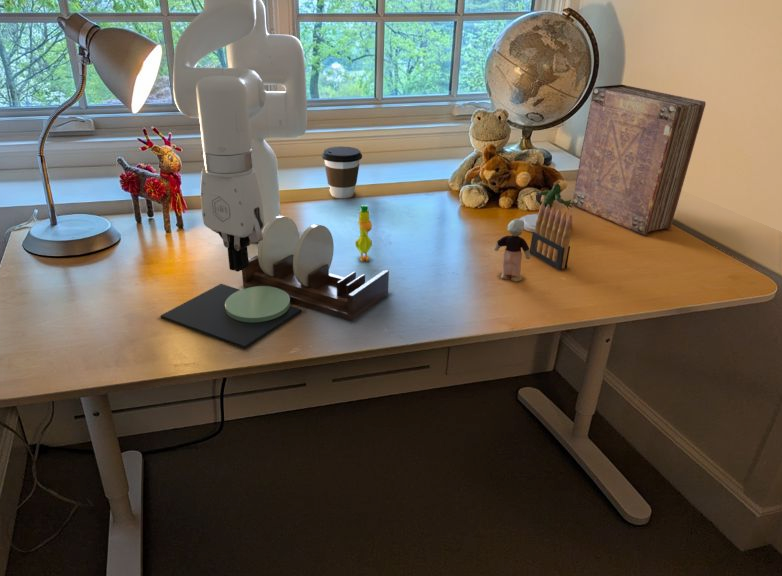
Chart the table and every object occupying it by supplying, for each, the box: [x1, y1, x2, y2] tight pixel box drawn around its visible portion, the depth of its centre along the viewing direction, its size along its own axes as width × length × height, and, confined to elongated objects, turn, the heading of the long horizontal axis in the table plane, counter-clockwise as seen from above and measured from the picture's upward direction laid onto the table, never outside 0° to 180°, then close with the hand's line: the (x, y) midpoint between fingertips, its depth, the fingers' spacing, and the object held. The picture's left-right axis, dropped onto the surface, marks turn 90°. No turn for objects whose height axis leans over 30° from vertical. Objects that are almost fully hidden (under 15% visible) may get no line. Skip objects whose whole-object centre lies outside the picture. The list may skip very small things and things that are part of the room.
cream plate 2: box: [293, 224, 335, 287], centre depth 123 cm, size 1×12×12 cm, turn 149°
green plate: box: [225, 286, 291, 322], centre depth 119 cm, size 1×12×12 cm
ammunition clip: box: [529, 201, 573, 271], centre depth 138 cm, size 11×2×12 cm, turn 26°
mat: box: [160, 283, 303, 350], centre depth 118 cm, size 20×16×1 cm
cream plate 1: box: [257, 215, 300, 277], centre depth 127 cm, size 1×12×12 cm, turn 149°
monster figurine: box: [519, 182, 573, 233], centre depth 157 cm, size 12×12×10 cm
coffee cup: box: [321, 146, 363, 199], centre depth 175 cm, size 11×11×12 cm
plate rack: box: [241, 254, 390, 323], centre depth 126 cm, size 26×13×5 cm, turn 58°
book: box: [571, 84, 707, 237], centre depth 158 cm, size 25×9×30 cm, turn 28°
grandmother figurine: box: [493, 218, 532, 283], centre depth 130 cm, size 8×4×13 cm, turn 71°
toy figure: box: [354, 204, 373, 263], centre depth 137 cm, size 7×4×12 cm, turn 13°
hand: (239, 267), depth 111 cm, fingers closed
